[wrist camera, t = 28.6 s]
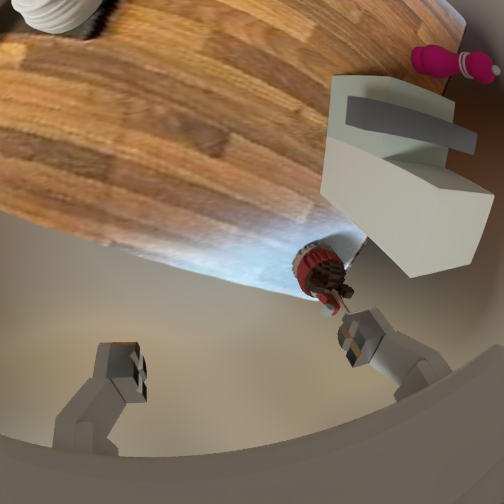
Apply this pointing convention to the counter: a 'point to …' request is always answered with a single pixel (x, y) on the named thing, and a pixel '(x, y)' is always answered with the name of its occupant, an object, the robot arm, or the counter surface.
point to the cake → (322, 277)
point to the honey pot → (55, 13)
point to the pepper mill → (454, 63)
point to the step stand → (401, 181)
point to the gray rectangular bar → (407, 124)
